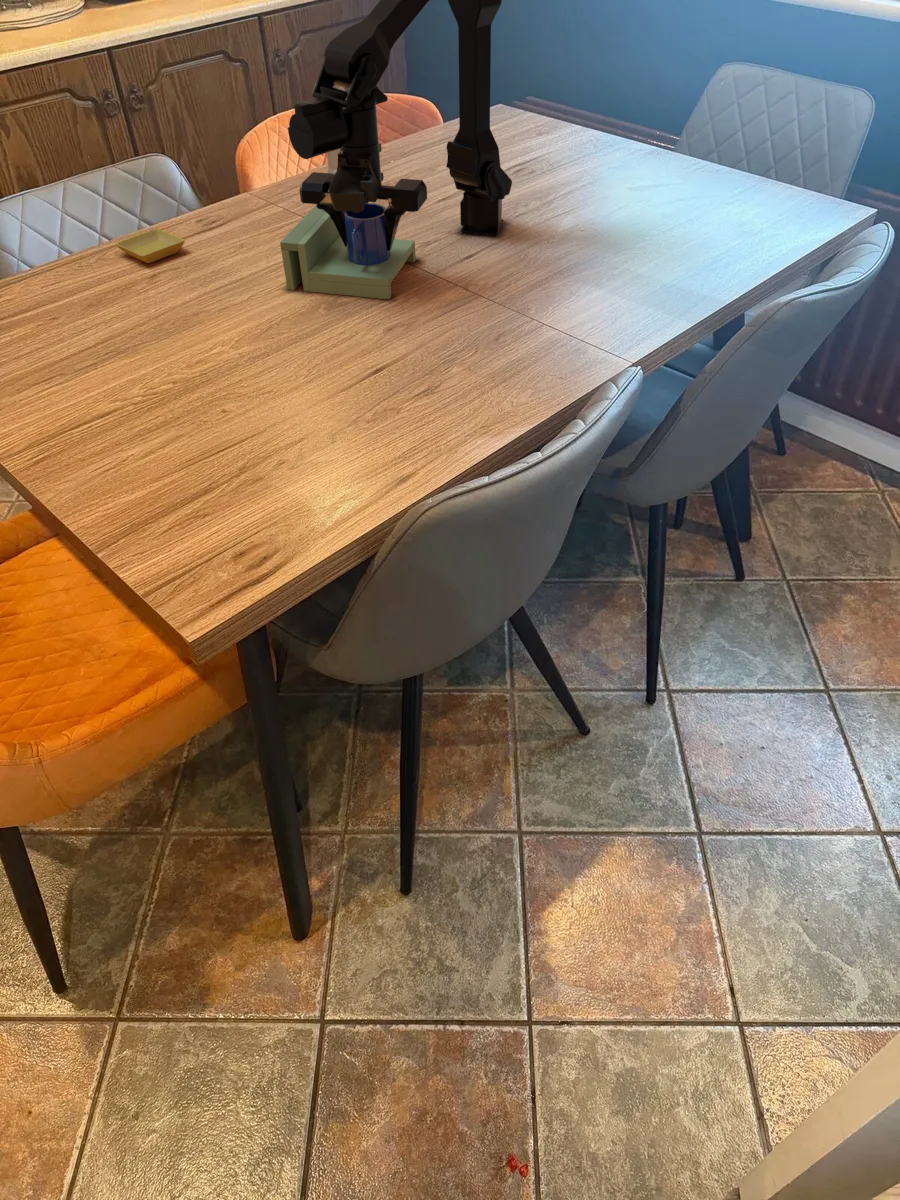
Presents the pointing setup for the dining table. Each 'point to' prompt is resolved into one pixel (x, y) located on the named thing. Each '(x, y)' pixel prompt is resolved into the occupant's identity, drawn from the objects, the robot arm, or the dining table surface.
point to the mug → (366, 235)
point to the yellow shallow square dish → (151, 245)
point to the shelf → (336, 261)
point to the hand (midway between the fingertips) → (368, 247)
